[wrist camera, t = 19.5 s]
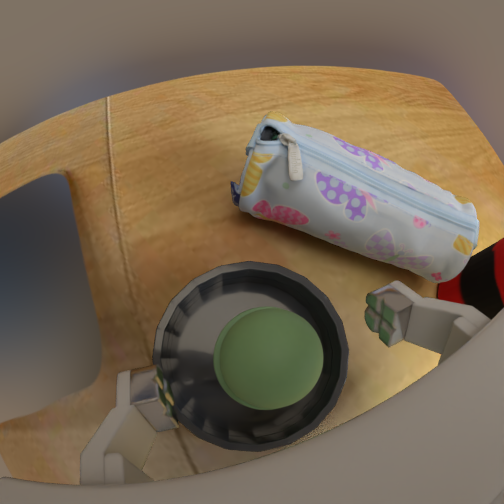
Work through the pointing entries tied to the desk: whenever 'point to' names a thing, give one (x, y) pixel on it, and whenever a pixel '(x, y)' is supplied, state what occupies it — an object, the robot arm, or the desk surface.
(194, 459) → the desk surface
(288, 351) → the green dome-topped cylinder
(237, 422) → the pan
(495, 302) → the soda can
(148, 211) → the desk surface
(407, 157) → the desk surface
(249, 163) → the pencil case
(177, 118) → the desk surface
